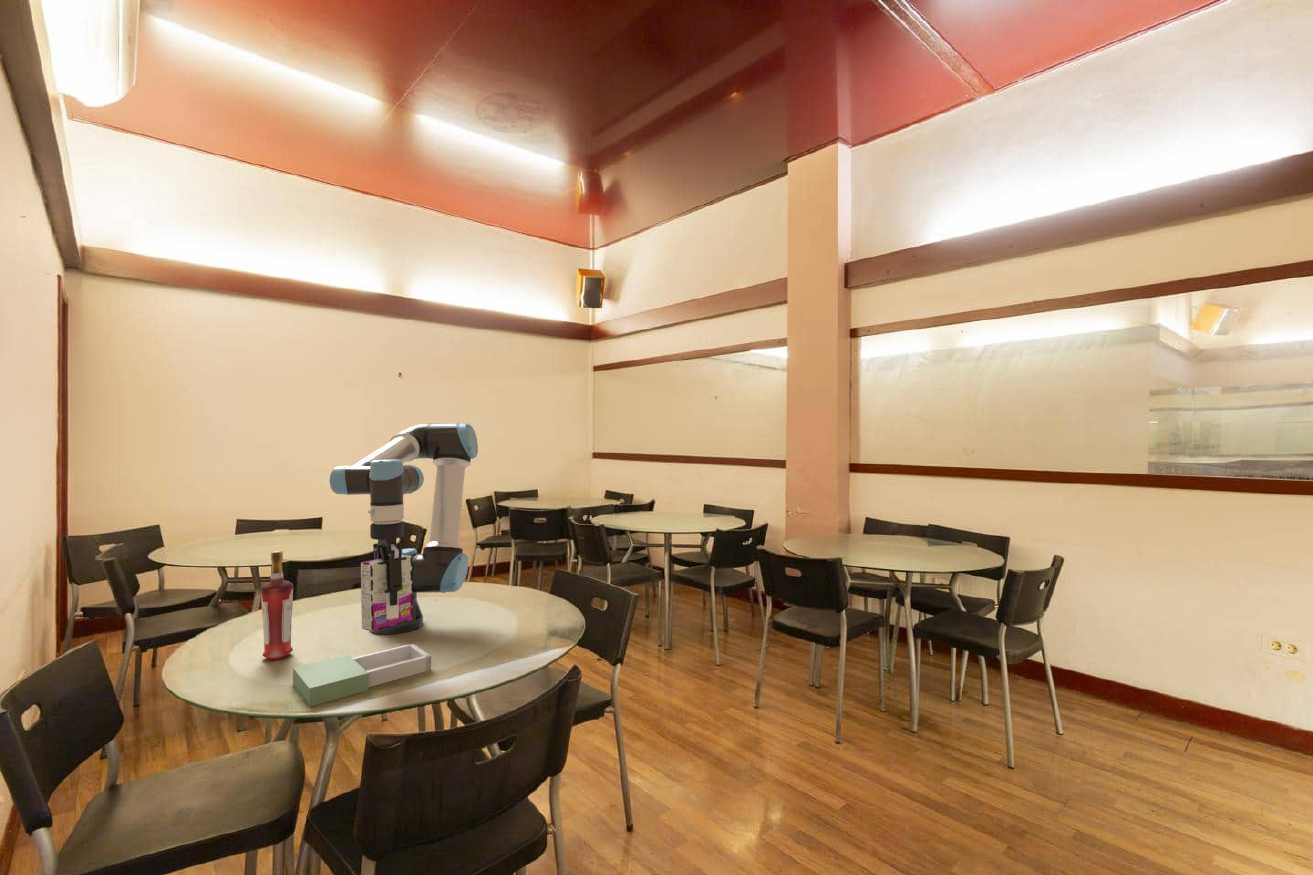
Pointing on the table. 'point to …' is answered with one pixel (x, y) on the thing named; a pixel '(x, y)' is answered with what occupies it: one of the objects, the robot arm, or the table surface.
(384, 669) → the sliding drawer box
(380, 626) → the candy bar box
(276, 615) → the liquor
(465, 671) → the table surface
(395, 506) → the robot arm
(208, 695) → the table surface
